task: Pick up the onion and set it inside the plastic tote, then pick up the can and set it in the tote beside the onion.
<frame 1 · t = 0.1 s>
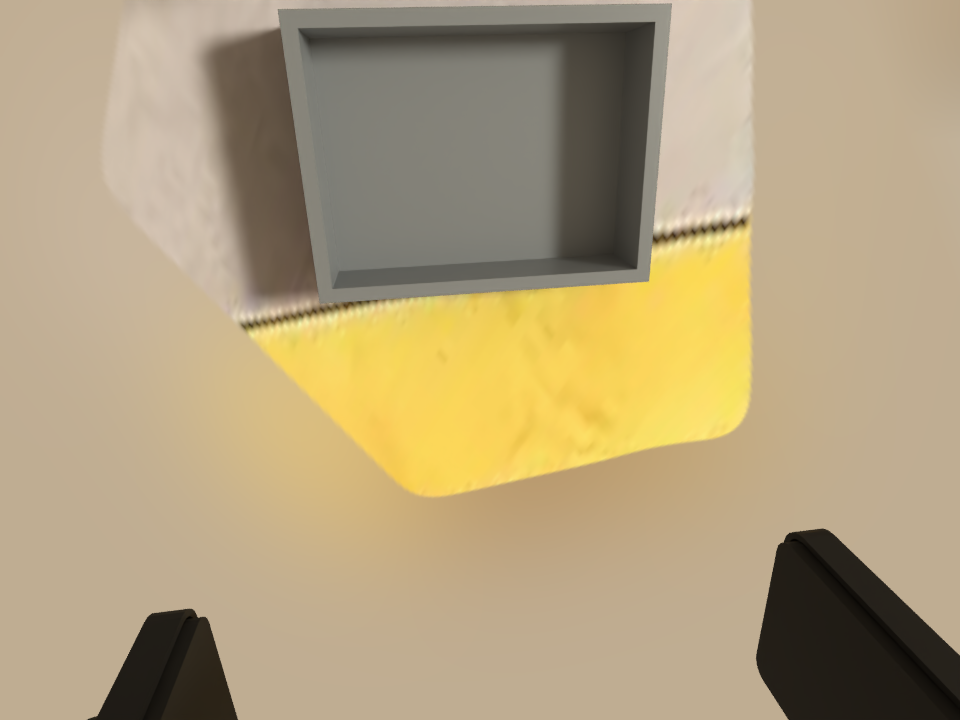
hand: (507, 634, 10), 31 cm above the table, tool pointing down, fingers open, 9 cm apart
tote: (474, 156, 36), on the table
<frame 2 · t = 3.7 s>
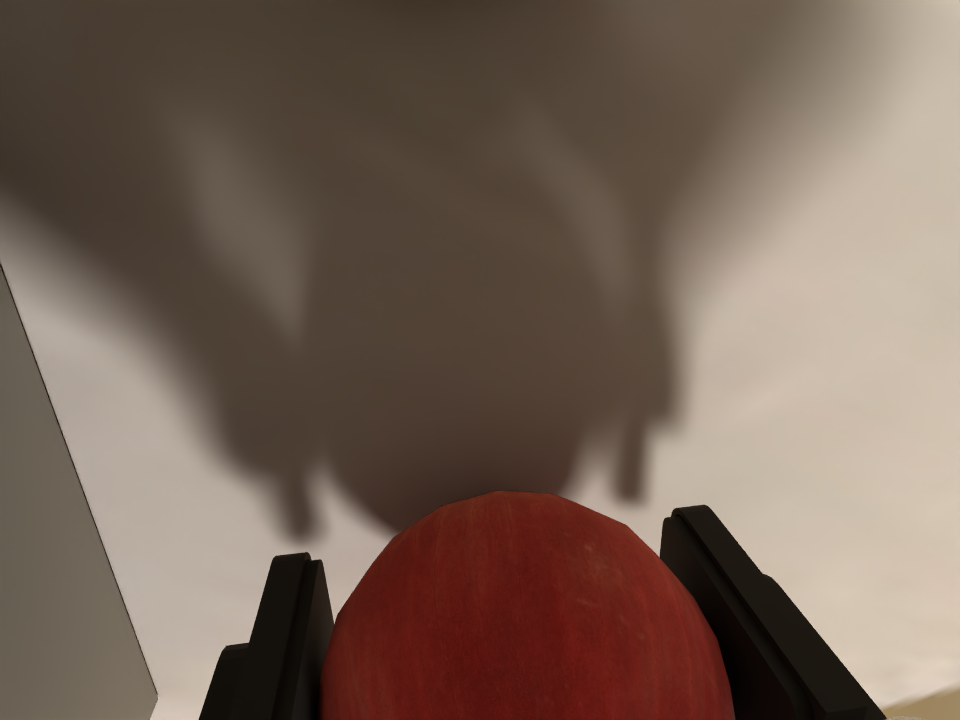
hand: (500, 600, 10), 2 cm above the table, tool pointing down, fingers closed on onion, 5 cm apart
onion: (485, 526, 12), on the table, touching gripper
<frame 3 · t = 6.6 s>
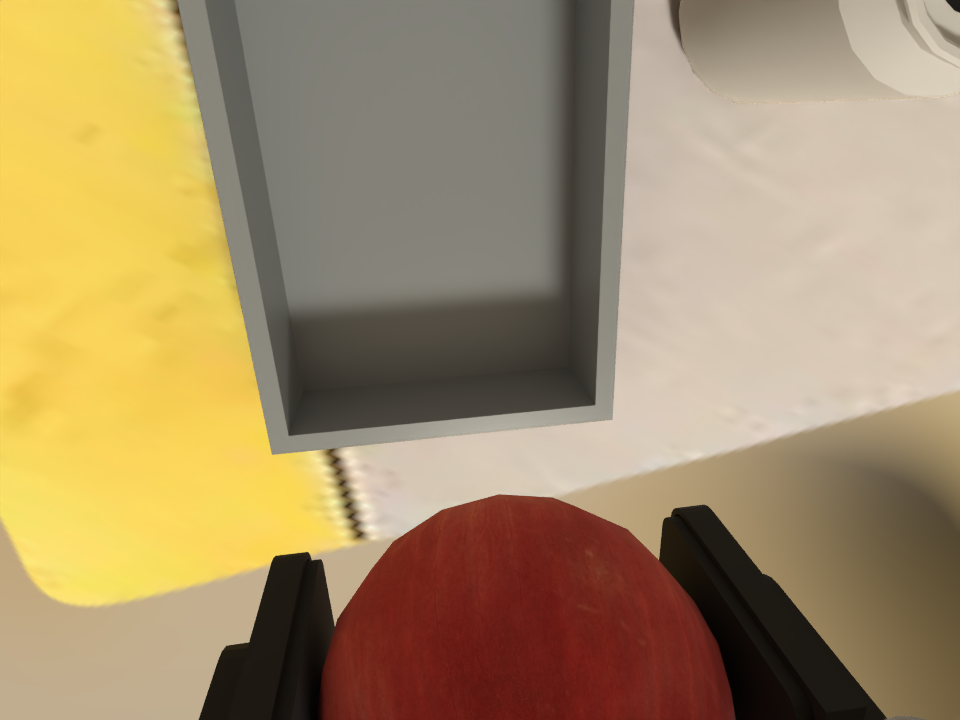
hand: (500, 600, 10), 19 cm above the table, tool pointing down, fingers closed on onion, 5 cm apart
onion: (485, 530, 12), point 17 cm above the table, touching gripper
can: (751, 9, 25), on the table
tote: (424, 186, 26), on the table
when the fingers open (5 cm above the table, at t = 9.7 s): onion drops 2 cm, resting on tote.
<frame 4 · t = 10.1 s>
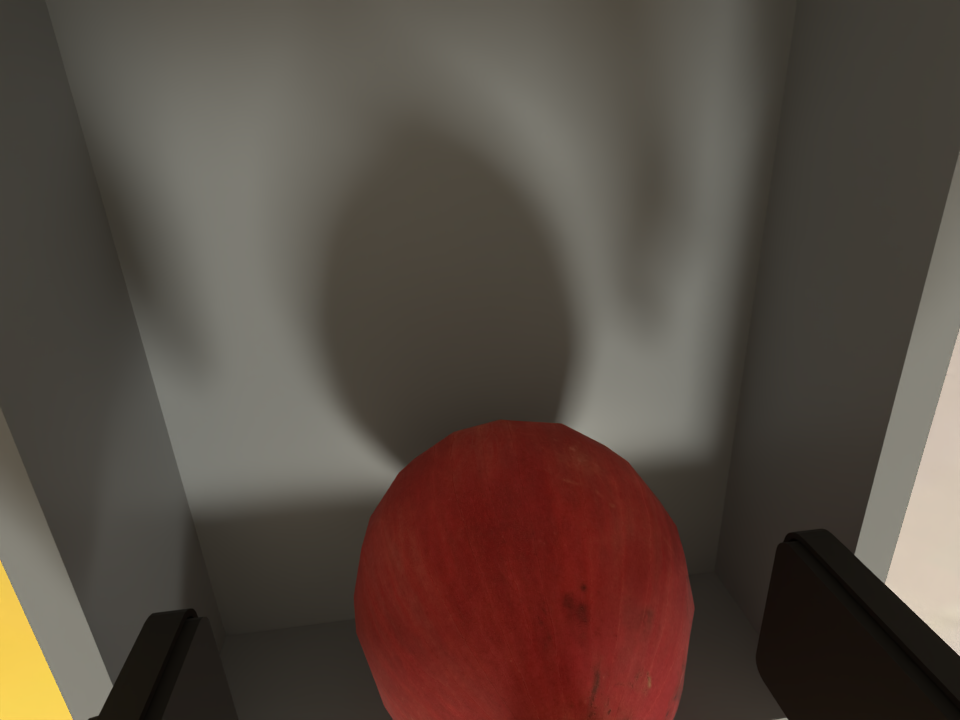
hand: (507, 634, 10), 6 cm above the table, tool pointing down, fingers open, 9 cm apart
onion: (487, 469, 14), point 1 cm above the table, touching tote
tote: (458, 259, 13), on the table
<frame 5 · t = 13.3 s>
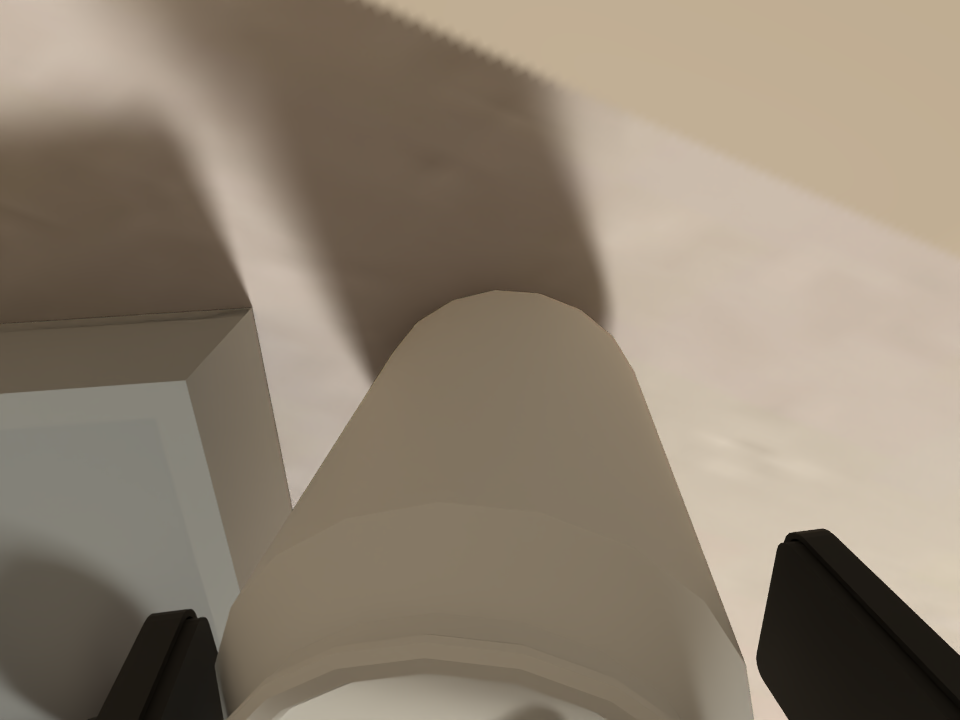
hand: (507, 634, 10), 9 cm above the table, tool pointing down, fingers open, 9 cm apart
can: (509, 399, 18), on the table
tote: (87, 598, 20), on the table
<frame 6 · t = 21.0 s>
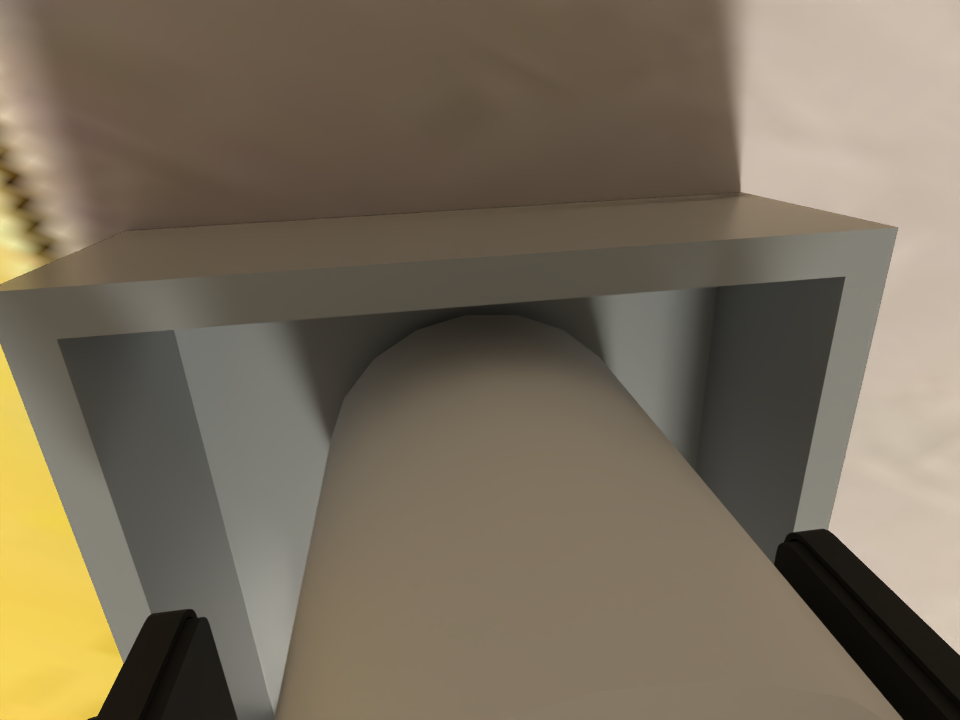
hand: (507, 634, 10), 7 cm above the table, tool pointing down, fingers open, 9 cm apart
can: (478, 434, 16), point 1 cm above the table, touching tote
tote: (470, 542, 18), on the table
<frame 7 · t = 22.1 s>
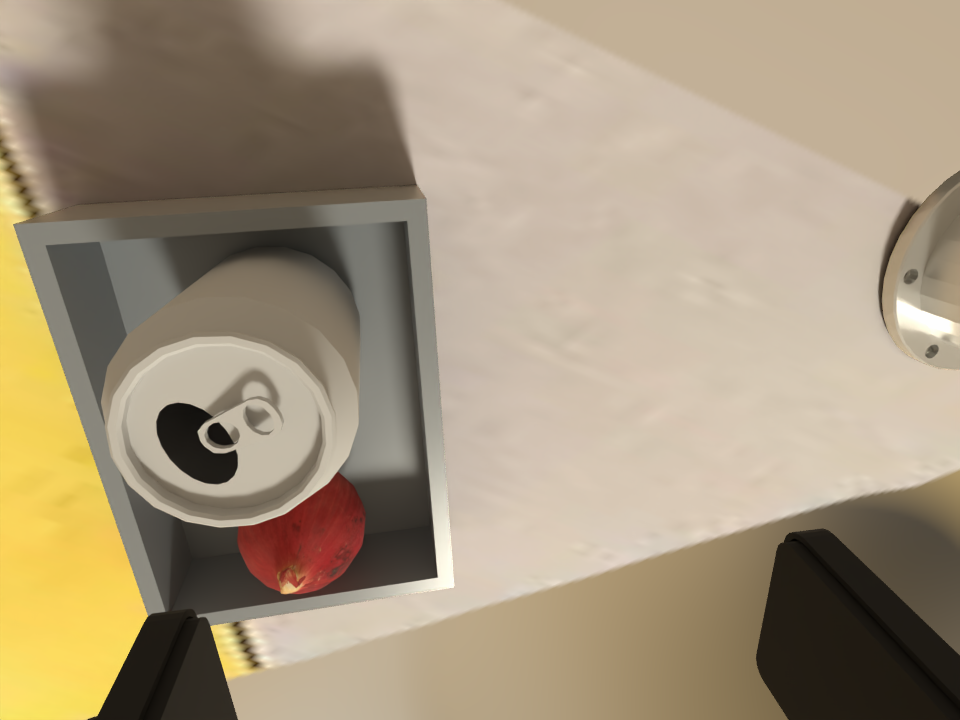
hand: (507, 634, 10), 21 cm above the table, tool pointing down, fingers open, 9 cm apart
onion: (310, 478, 32), point 1 cm above the table, touching tote
can: (280, 321, 28), point 1 cm above the table, touching tote
tote: (289, 391, 30), on the table
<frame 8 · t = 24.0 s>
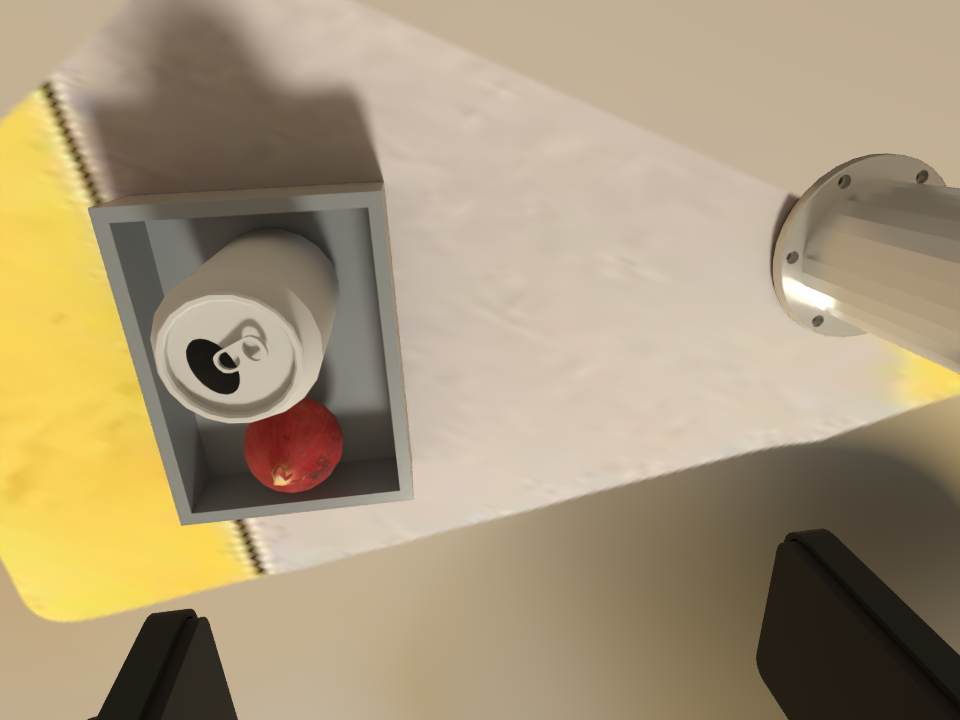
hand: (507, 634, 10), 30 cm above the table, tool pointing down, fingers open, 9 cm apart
onion: (303, 413, 40), point 1 cm above the table, touching tote
can: (279, 285, 36), point 1 cm above the table, touching tote
tote: (287, 342, 39), on the table
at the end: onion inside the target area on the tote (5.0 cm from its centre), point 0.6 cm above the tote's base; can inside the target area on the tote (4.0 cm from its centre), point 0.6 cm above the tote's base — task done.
